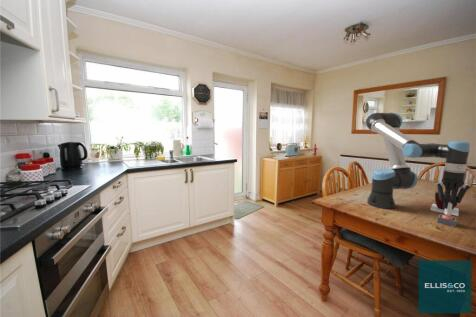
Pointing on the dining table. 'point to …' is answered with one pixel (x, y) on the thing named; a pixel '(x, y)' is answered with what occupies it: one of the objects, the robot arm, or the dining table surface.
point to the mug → (439, 202)
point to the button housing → (447, 221)
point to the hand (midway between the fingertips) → (447, 214)
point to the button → (447, 217)
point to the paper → (453, 211)
